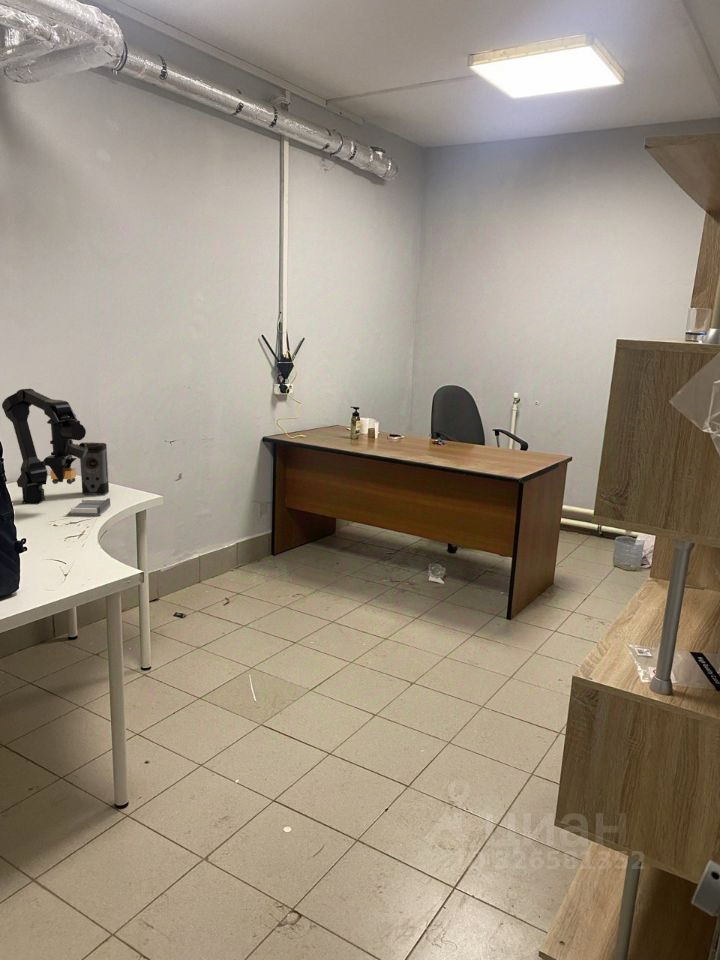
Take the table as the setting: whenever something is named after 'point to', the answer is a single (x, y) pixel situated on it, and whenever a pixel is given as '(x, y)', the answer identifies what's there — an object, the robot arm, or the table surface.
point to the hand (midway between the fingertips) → (63, 480)
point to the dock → (90, 507)
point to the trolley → (65, 475)
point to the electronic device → (95, 470)
